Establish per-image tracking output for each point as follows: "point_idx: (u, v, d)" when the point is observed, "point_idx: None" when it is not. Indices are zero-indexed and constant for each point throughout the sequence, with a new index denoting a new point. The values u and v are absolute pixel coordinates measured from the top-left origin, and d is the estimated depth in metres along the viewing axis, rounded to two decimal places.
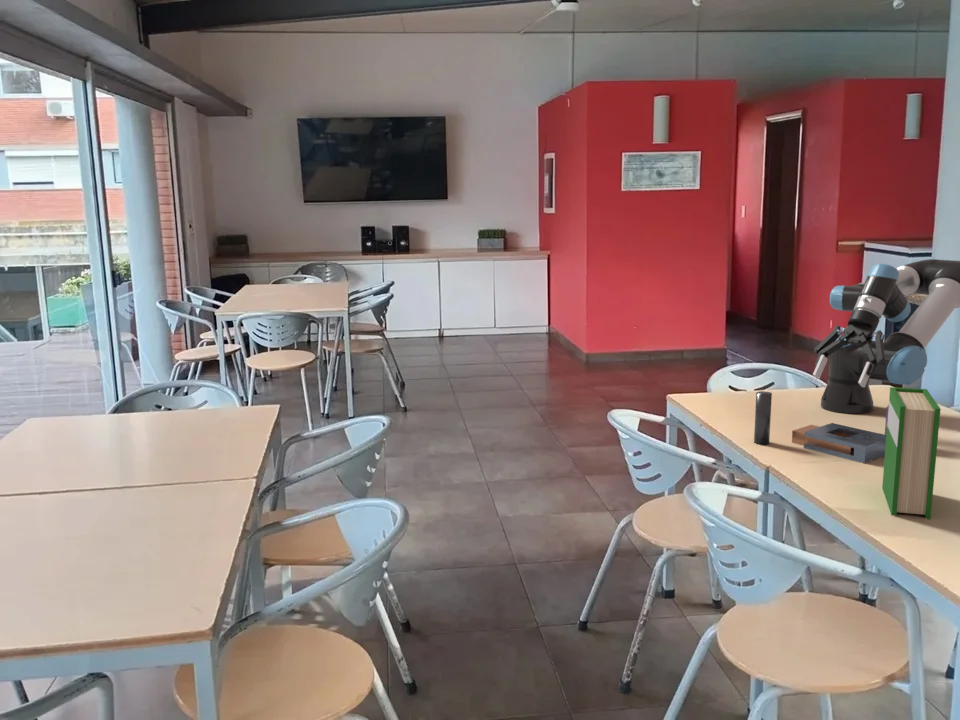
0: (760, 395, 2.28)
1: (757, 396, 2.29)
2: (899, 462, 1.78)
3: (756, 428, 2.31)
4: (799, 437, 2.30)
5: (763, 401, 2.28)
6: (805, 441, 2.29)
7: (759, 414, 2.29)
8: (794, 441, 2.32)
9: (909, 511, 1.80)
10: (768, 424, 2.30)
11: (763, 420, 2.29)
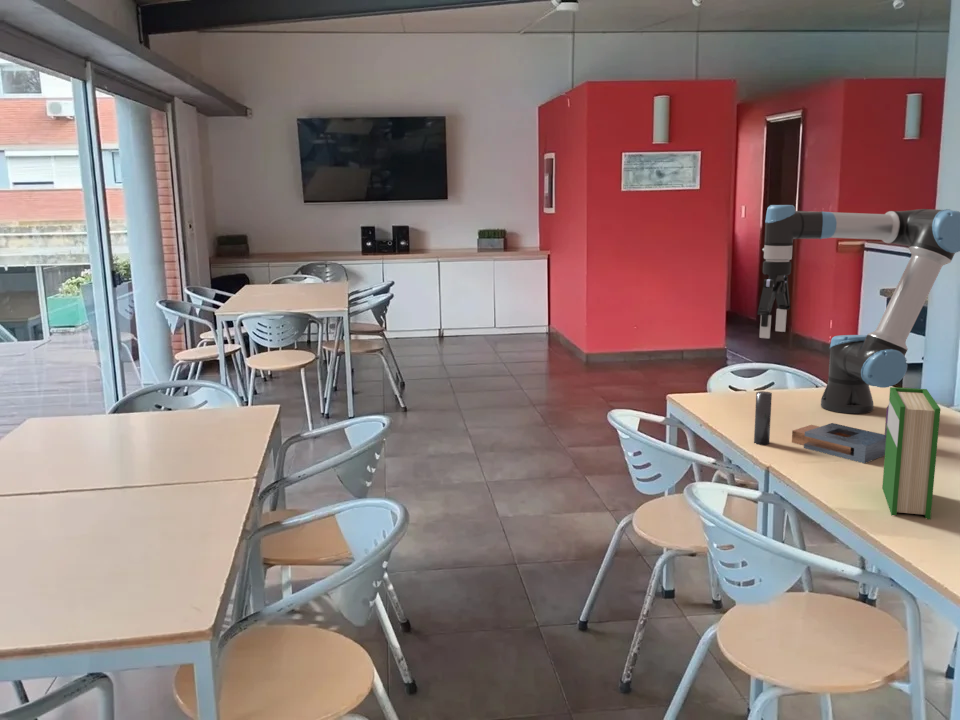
0: (760, 395, 2.28)
1: (757, 396, 2.29)
2: (899, 462, 1.78)
3: (756, 428, 2.31)
4: (799, 437, 2.30)
5: (763, 401, 2.28)
6: (805, 441, 2.29)
7: (759, 414, 2.29)
8: (794, 441, 2.32)
9: (909, 511, 1.80)
10: (768, 424, 2.30)
11: (763, 420, 2.29)
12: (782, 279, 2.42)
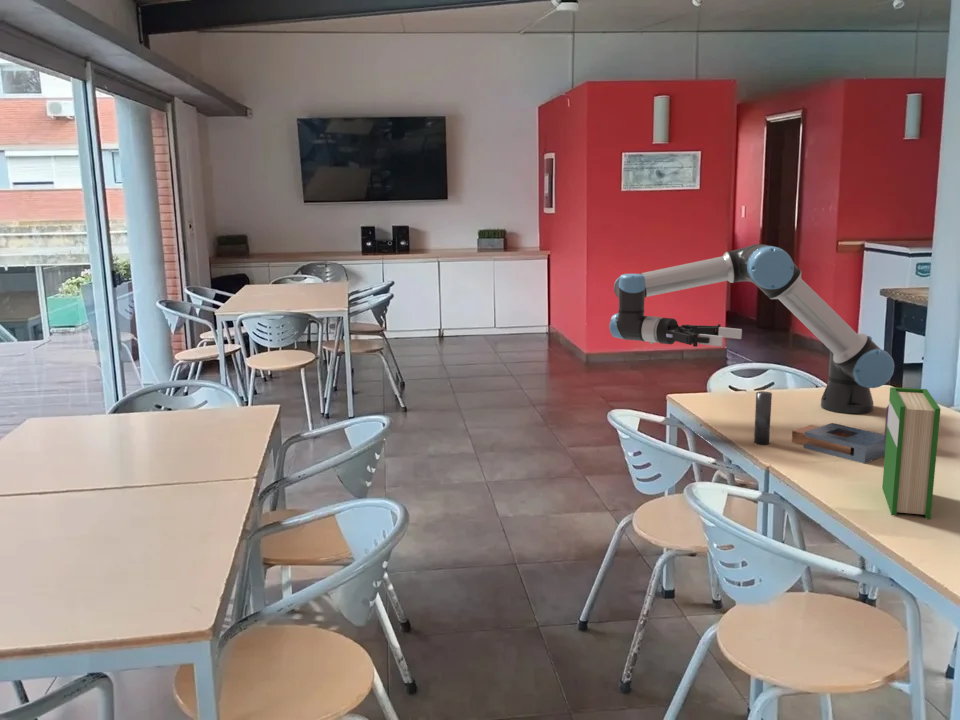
0: (760, 395, 2.28)
1: (757, 396, 2.29)
2: (899, 462, 1.78)
3: (756, 428, 2.31)
4: (799, 437, 2.30)
5: (763, 401, 2.28)
6: (805, 441, 2.29)
7: (759, 414, 2.29)
8: (794, 441, 2.32)
9: (909, 511, 1.80)
10: (768, 424, 2.30)
11: (763, 420, 2.29)
12: None
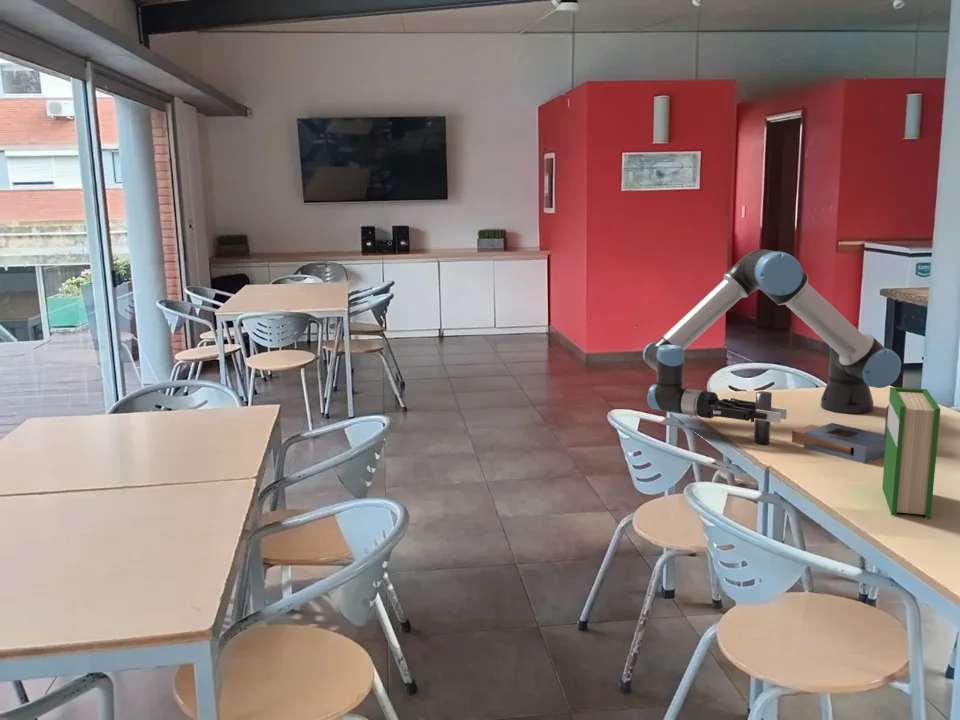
0: (760, 395, 2.28)
1: (757, 396, 2.29)
2: (899, 462, 1.78)
3: (756, 428, 2.31)
4: (799, 437, 2.30)
5: (763, 400, 2.28)
6: (805, 441, 2.29)
7: None
8: (794, 441, 2.32)
9: (909, 511, 1.80)
10: (768, 424, 2.30)
11: None
12: (721, 400, 2.40)
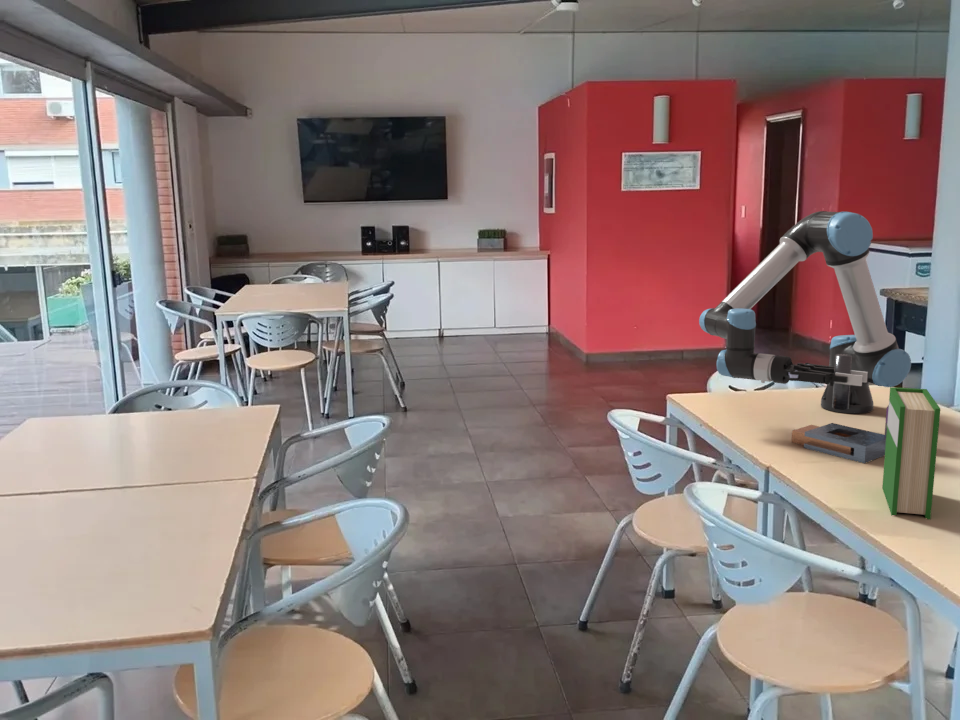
0: (840, 357, 2.19)
1: (836, 359, 2.20)
2: (899, 462, 1.78)
3: (835, 392, 2.22)
4: (799, 437, 2.30)
5: (843, 363, 2.19)
6: (805, 441, 2.29)
7: None
8: (794, 441, 2.32)
9: (909, 511, 1.80)
10: (848, 388, 2.21)
11: (843, 384, 2.20)
12: None
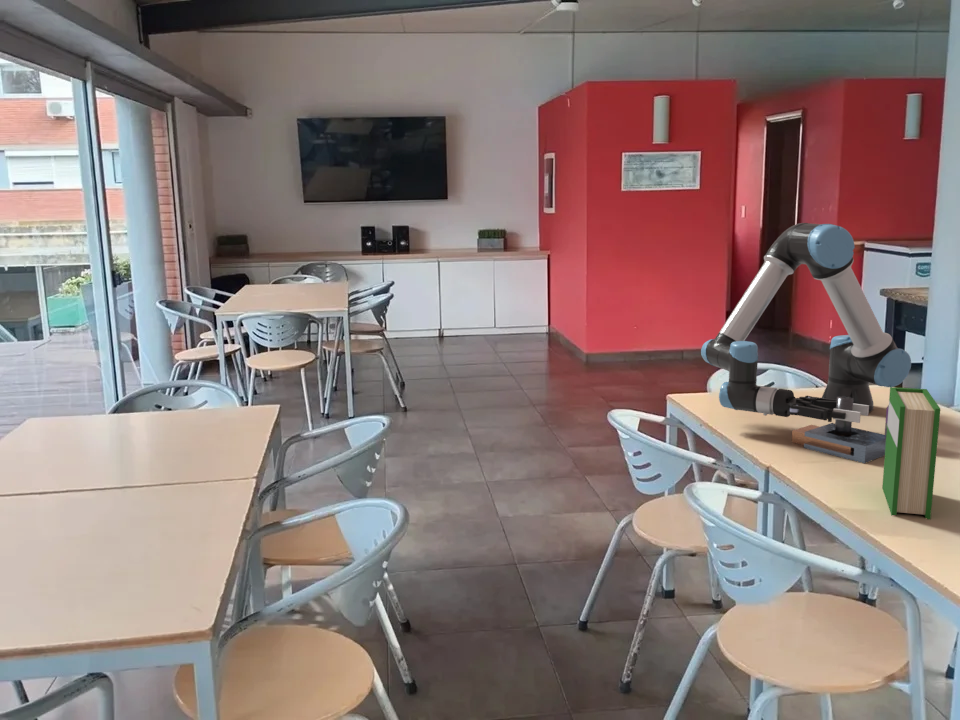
0: (842, 400, 2.21)
1: (838, 401, 2.22)
2: (899, 462, 1.78)
3: (836, 434, 2.24)
4: (799, 437, 2.30)
5: (845, 406, 2.21)
6: (805, 441, 2.29)
7: None
8: (794, 441, 2.32)
9: (909, 511, 1.80)
10: (849, 430, 2.23)
11: (844, 426, 2.22)
12: (798, 398, 2.33)
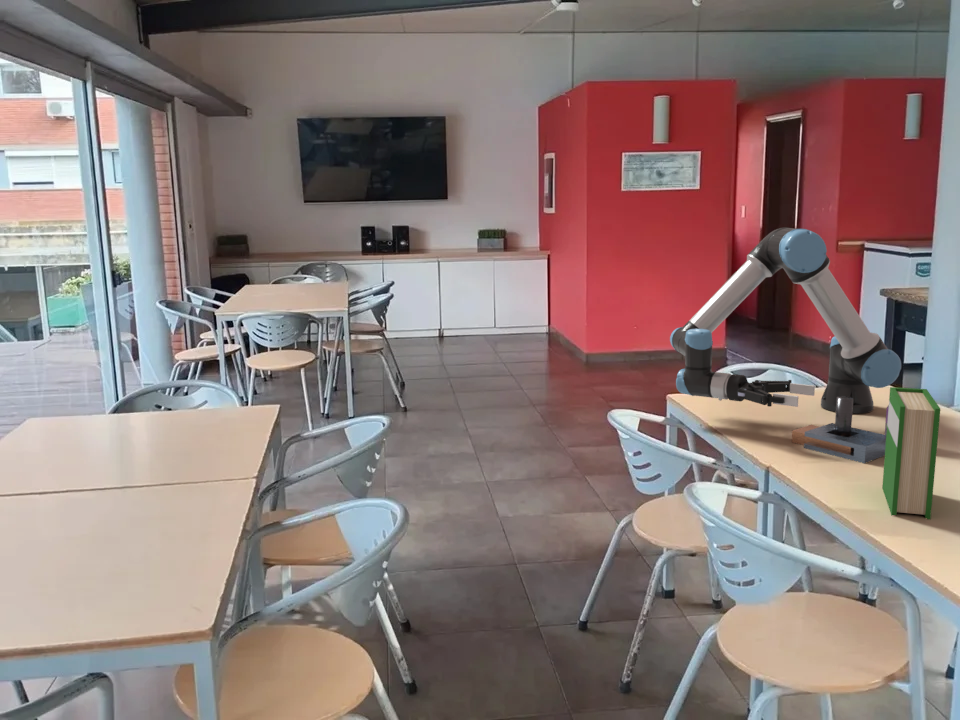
0: (841, 400, 2.21)
1: (838, 401, 2.22)
2: (899, 462, 1.78)
3: (836, 434, 2.24)
4: (799, 437, 2.30)
5: (845, 406, 2.21)
6: (805, 441, 2.29)
7: (840, 419, 2.22)
8: (794, 441, 2.32)
9: (909, 511, 1.80)
10: (849, 430, 2.23)
11: (844, 426, 2.22)
12: None
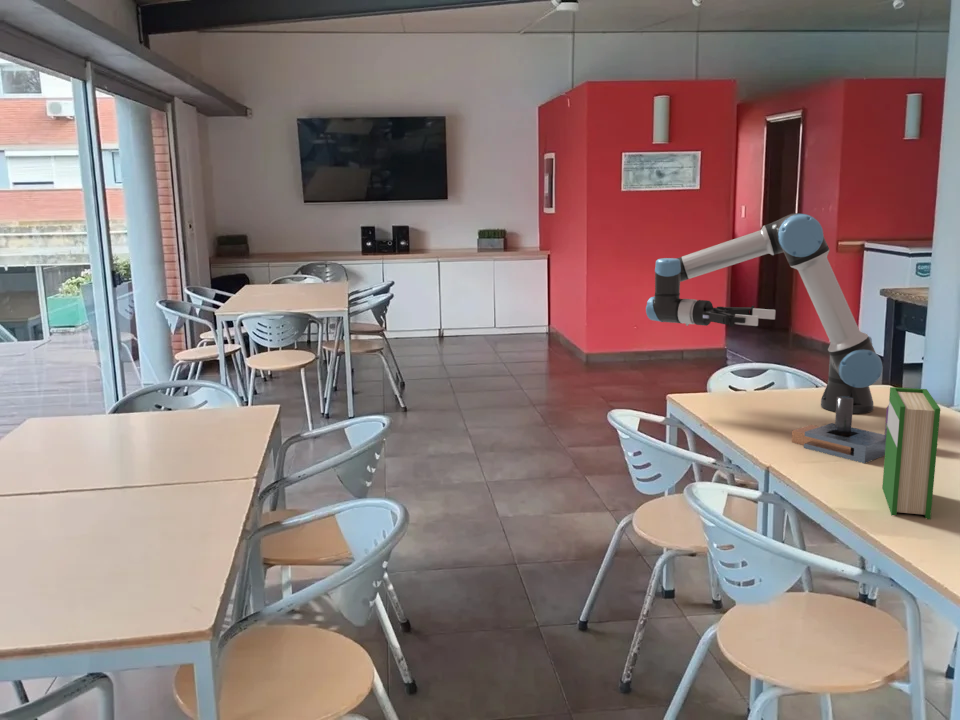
0: (841, 400, 2.21)
1: (838, 401, 2.22)
2: (899, 462, 1.78)
3: (836, 434, 2.24)
4: (799, 437, 2.30)
5: (845, 406, 2.21)
6: (805, 441, 2.29)
7: (840, 419, 2.22)
8: (794, 441, 2.32)
9: (909, 511, 1.80)
10: (849, 430, 2.23)
11: (844, 426, 2.22)
12: None
